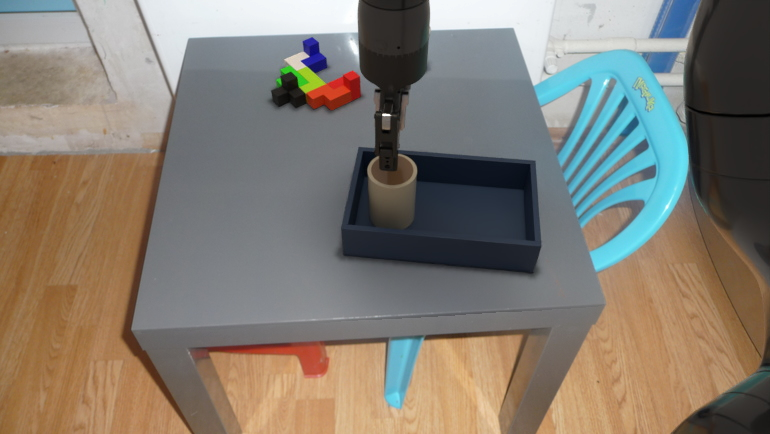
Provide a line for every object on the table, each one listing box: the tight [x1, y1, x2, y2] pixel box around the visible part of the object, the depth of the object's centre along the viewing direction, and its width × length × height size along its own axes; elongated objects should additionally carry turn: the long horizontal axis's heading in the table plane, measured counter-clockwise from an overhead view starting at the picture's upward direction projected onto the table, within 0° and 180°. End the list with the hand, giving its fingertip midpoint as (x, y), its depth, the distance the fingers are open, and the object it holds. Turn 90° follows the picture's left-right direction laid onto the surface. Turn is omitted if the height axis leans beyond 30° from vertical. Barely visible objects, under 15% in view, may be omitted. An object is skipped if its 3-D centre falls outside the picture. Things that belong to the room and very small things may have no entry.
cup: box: [367, 154, 417, 229], centre depth 81 cm, size 7×7×9 cm
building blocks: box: [270, 36, 362, 111], centre depth 102 cm, size 15×13×4 cm
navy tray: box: [340, 146, 543, 274], centre depth 82 cm, size 26×16×6 cm, turn 83°
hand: (392, 145), depth 74 cm, fingers open, 8 cm apart
